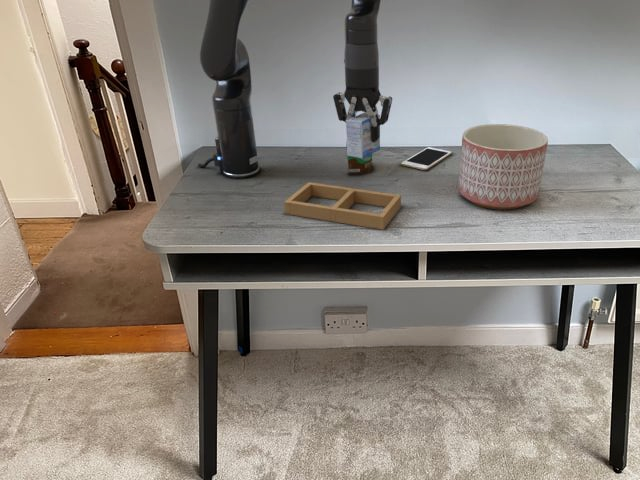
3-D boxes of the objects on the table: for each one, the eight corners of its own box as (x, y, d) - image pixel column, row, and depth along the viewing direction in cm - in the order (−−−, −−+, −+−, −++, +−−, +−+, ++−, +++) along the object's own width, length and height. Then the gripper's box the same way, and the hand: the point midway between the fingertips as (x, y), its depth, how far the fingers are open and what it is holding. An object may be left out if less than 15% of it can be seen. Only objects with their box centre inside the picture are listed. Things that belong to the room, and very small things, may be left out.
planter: (514, 178, 144) (522, 121, 136) (553, 207, 129) (564, 145, 121) (446, 185, 140) (450, 127, 132) (477, 217, 124) (484, 153, 116)
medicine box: (362, 159, 129) (361, 122, 124) (346, 156, 131) (345, 119, 126) (380, 150, 134) (380, 114, 130) (365, 146, 136) (364, 111, 132)
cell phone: (400, 165, 151) (400, 163, 151) (428, 148, 163) (428, 146, 163) (425, 170, 148) (426, 168, 148) (452, 153, 160) (452, 151, 159)
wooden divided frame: (285, 213, 125) (284, 201, 124) (309, 193, 135) (308, 181, 134) (383, 229, 119) (383, 217, 117) (401, 207, 129) (401, 195, 127)
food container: (370, 178, 144) (369, 140, 138) (347, 176, 145) (346, 139, 139) (380, 162, 154) (380, 126, 148) (358, 160, 155) (357, 125, 149)
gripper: (398, 63, 123) (397, 138, 132) (338, 59, 126) (341, 132, 136) (387, 69, 117) (387, 148, 126) (324, 65, 121) (329, 141, 130)
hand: (363, 139), depth 131 cm, fingers closed on medicine box, 5 cm apart
